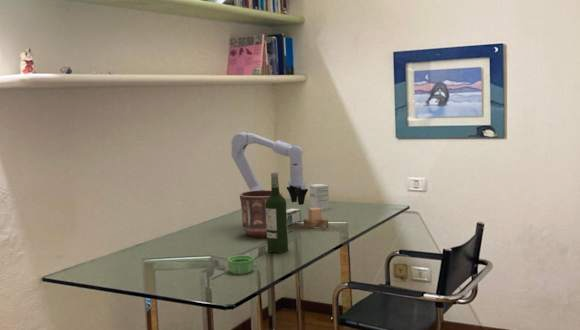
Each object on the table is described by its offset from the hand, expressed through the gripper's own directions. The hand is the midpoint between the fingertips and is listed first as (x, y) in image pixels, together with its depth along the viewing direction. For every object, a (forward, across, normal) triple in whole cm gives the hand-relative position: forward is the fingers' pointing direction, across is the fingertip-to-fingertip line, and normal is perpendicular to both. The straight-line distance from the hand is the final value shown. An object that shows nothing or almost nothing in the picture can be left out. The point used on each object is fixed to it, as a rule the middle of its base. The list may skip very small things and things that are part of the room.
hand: (297, 203), depth 276 cm
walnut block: (+11, -5, -6) cm, 13 cm away
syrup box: (+8, +12, -5) cm, 15 cm away
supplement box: (+11, +31, -26) cm, 42 cm away
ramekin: (+11, -54, +46) cm, 72 cm away
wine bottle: (+11, -36, +25) cm, 45 cm away
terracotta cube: (+7, -5, -6) cm, 11 cm away
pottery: (+11, -7, +20) cm, 24 cm away
